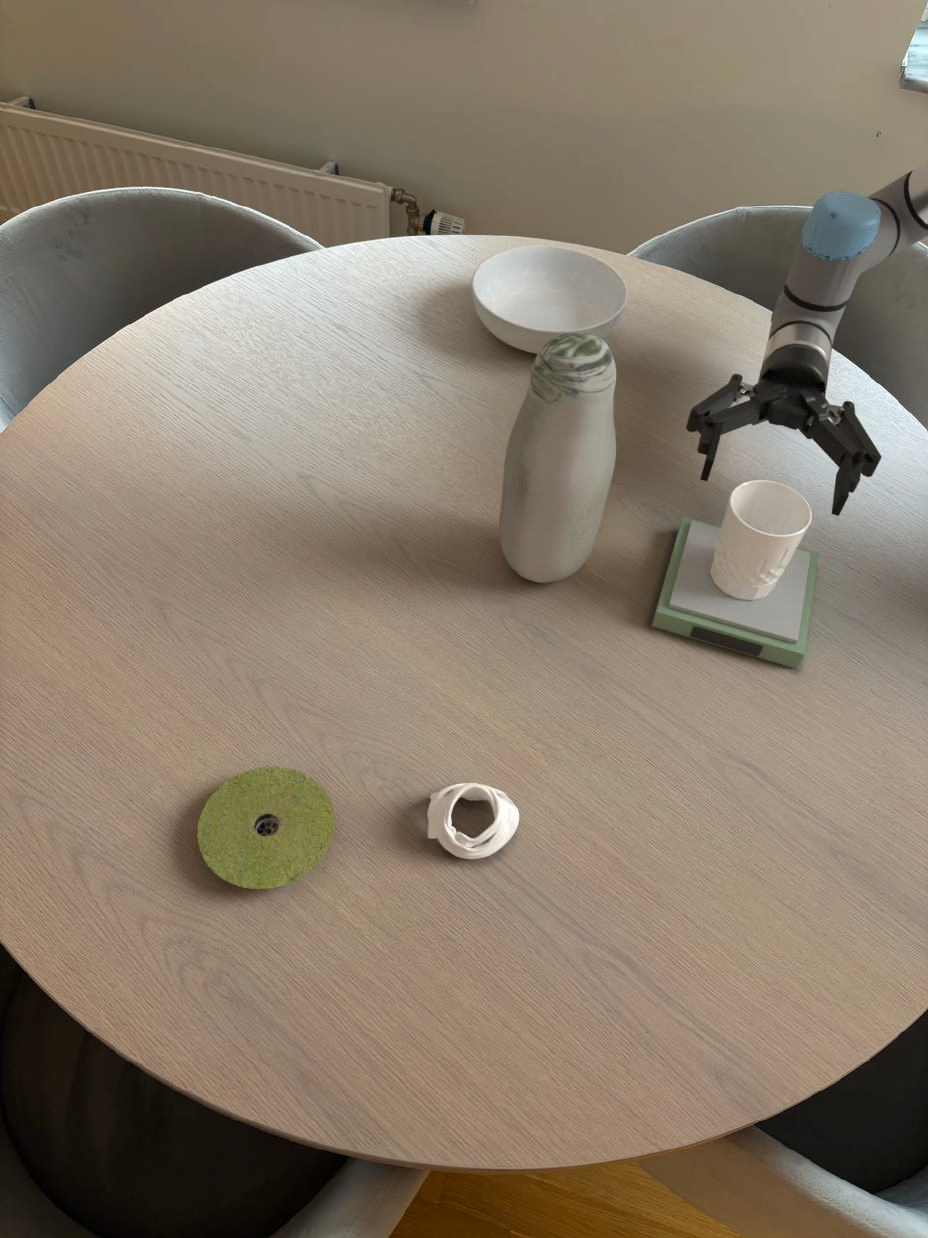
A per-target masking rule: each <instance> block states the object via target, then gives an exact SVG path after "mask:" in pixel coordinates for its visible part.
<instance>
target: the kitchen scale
mask: <svg viewBox="0 0 928 1238" xmlns="http://www.w3.org/2000/svg"><path fill="white" fill-rule="evenodd" d="M720 528H721V525H718V524H714V523H712V522H711V523H710V522H706V521H703V520H699V519H696V518H692V517H688V516H686V515H685V516H684V515H683V516H682V519H681V522H680V525H679V528H678V531H677V534H676V538H675V541H674V545H673V548H672V552H671V556H670V558H669V563H668V566H667V569H666V573H665V577H664V581H663V584H662V587H661V591H660V594H659V598H658V601H657V604H656V609H655V612H654V616H653V619H652V623H651V627H653V628H655V629H660V630H661V631H665V632H669V633H673V634H675V635H679V636H683V637H687V638H690V639H693V640H696V641H700V642H703V643H705V644H706V643H707V644H710V645H714V646H717V647H721V648H724V649H727V650H729V651H734V652H737V653H741V654H744V655H747V656H751V657H754V658H758V659H762V660H765V661H768V662H771V663H775V664H779V665H781V666H785V667H788V668H791V669H795V670H796V669H797V670H798V668H799V666H800V664H801V662H802V660H803V659H804V657H805V655H806V649H807V641H808V633H809V627H810V621H811V611H812V607H813V600H814V599H813V598H814V591H815V584H816V577H817V570H818V569H817V568H818V564H819V563H818V562H819V556H820V553H819V552H817V551H813V550H810V549H806V548H802V547H800V546H798V547H797V549H796V551H795V553H794V554H793V556H792V558H791V560H790V561H789V563H788V564H787V566H786V568H785V570H784V572H783V573H782V575H781V576H780V577H779V579H778V581H777V583H776V585H775V587H774V589H773V590H772V591H771V592H770V593H769V594H768V595H767V596H766V597H763V598H759V599H756V600H743V599H737V598H735V597H732V596H730V595H728V594H726V593H724V592H723V591H722V590H721V589H720V588H718V587H717V586H716V585H715V584H714V582H713V579H712V577H711V575H710V569H711V564H712V560H713V557H714V554H715V546H716V543H717V539H718V535H719V532H720Z"/></svg>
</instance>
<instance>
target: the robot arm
mask: <svg viewBox="0 0 928 1238" xmlns="http://www.w3.org/2000/svg"><path fill="white" fill-rule="evenodd" d="M800 236H801V237H800V239H799V242H798V245H797V248H796V252H795V254H794V258H793V260H792V263H791V267H790V269H789V272H788V275H787V279H786V280H785V283H784V285H783V288H782V290H781V294H780V295H779V297H778V299H777V300H776V303H775V305H774V309H773V311H772V313H771V317H770V322H771V324H770V329H769V334H768V339H767V342H766V346H765V351H764V355H763V359H762V363H761V367H760V371H759V375H758V379H757V383H755V384H753V385H752V384H750V383H746V382H743V379H744V378H743V375H741V374H739V373H734V374H732V375H731V377H730V379H729V381H728V383H726V384H725V385H724V386H722V387H720V388H719V389H718V390H716V391H715V392H714V393H712V394H711V395H709V396H708V397H706V398H705V399H703V400H702V401H700V402H699V403H698V404H696V405H695V406H693V407H692V408H691V409H690V412H689V415H688V419H687V421H686V425H685V429H686V431H687V432H689V433H695V432H697V433H699V435H700V437H699V439H698V444H697V447H696V451H697V453H698V454H702V455H704V456H705V460H704V463H703V467H702V471H701V475H700V478H699V480H700V481H702V482H708V480H709V477H710V476H711V475H710V474H711V471H712V468H713V466H714V464H715V459H716V455H717V451H718V447H719V445H720V444H719V443H720V440H721V436H723V435H725V434H727V433H730V432H733V431H736V430H738V429H741V428H744V427H746V426H748V425H752V426H756V425H760V424H762V423H764V422H766V421H767V422H768V424H771V425H775V426H782V427H786V428H788V429H791V430H795V431H799V432H800V433H801V434H802V435H803V436H804V437H805V438H806V439H807V440H813V441H814V442H815V444H816V445H817V446H818V447H819V448H820V449H821V450H822V451H823V452H824V453H825V454H826V455H827V456H828V458H830V460H831V461H832V462H833V463H834V464H835V465H836V466H837V467H838V470H837V472H836V473H835V474H836V475H835V482H834V489H833V497H832V505H831V515H834V516H837V517H840V515H841V514H842V513H841V512H842V510H843V509H844V507H845V505H846V503H847V501H848V499H849V496H850V493H852V494H853V493H854V492H855V491H856V490H857V487H858V485H859V483H860V482H861V476H864V477H867V478H871V477H873V476H874V474H875V471H876V469H877V468H878V466H879V464H880V462H881V459H882V455H881V453H880V451H879V450H878V448H877V447H876V445H875V443H874V442H873V440H872V439H871V437H870V436H869V434H868V432H867V431H866V429H865V427H864V426H863V424H862V422H861V421H860V420H859V418H858V416H857V415H856V408H855V407H856V406H855V403H854V402H853V401H850V400H845V401H844V402H843V403H842V405H835V404H830V403H829V401H828V399H827V397H826V393H827V387H828V381H829V373H830V366H831V358H832V350H833V344H834V339H835V335H836V331H837V329H838V326H839V324H840V321H841V319H842V316H843V315H844V312H845V309H846V306H847V305H848V302H849V300H850V297H851V295H852V293H853V290H854V288H855V285H856V283H857V281H858V278H859V276H860V275H861V274H863V273H864V272H866V271H868V270H870V269H871V268H873V267H875V266H876V265H878V264H879V263H882V262H884V261H885V260H887V259H888V258H890V257H891V256H892V257H893V256H894V255H895V254H898V253H900V252H901V251H903V250H904V249H906V248H908V247H909V248H910V247H911V246H912V245H915V244H917V243H918V242H920V241H922V240H924V239H925V238H927V237H928V160H927V161H925V162H923V163H922V164H920V165H918V166H917V167H916V168H914V169H912V170H911V171H909V172H906V173H905V174H903V175H902V176H900V177H899V178H897V179H895V180H893V181H892V182H891V183H889V184H887V185H885V186H884V187H882V188H880V189H878V190H876V191H875V192H873V193H872V194H870V195H868V196H865V195H863V194H860V193H856V192H852V191H845V190H844V191H843V190H841V191H839V192H835V191H831V192H828V193H825V194H823V195H821V196H820V197H819V198H818V199H817V200H816V201H815V203H814V204H813V205H812V209H811V211H810V214H809V216H808V218H807V220H806V221H805V223H804V226H803V228H802V230H801V235H800ZM747 397H748V398H749V399H748V400H746V401H742V402H741V403H739V402H740V400H742V399H744V398H747ZM734 403H736V404H735V405H733V404H734Z"/></svg>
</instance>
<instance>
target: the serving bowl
mask: <svg viewBox="0 0 928 1238" xmlns="http://www.w3.org/2000/svg"><path fill="white" fill-rule="evenodd" d="M470 286H471V295H472V301H473V306H474V309H475V311H476V313H477V316H478V317H479V320H480V321H481V322H482V324H483V325H484V326H485V327H486V328H487V330H488V331H489V332H490V333H491V334H492V335H494V336H495V337H496V338H497V339H499V340H500V341H502V342H503V343H505V344H507V345H509V346H510V347H513V348H515V349H517V350H521V351H524V352H527V353H532V354H538V353H539V351H540V350H541V349H542V347H543V346H544V345H545V344H546V343H547V342H549V341H550V340H552V339H554V338H555V337H558V336H560V335H564V334H567V333H574V332H583V333H590V334H592V335H595V336H597V337H600V338H602V340H603V341H604V339H605V338H607V337H608V336H609V335H610V334H611V333H612V332H613V331H614V329H615V328H616V327H617V325H618V324H619V323H620V321H621V319H622V317H623V314H624V312H625V309H626V307H627V304H628V301H629V289H628V286H627V283H626V281H625V280H624V277H623V276H622V275H621V273H619V272H618V271H617V270H616V269H615V268H614V267H612V266H611V265H610V264H609V263H607V262H605V261H604V260H603V259H600V258H598V257H596V256H595V255H592V254H589V253H587V252H584V251H581V250H578V249H574V248H569V247H566V246H565V247H564V246H559V245H549V244H545V245H544V244H534V245H531V244H530V245H522V246H516V247H511V248H507V249H505V250H501V251H499V252H496V253H494V254H493V255H490V256H489V257H487V258H486V259H484V260H483V261H482V262H480V264H479V265H477V267H476V268H475V270H474V272H473V274H472V277H471V281H470Z"/></svg>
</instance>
